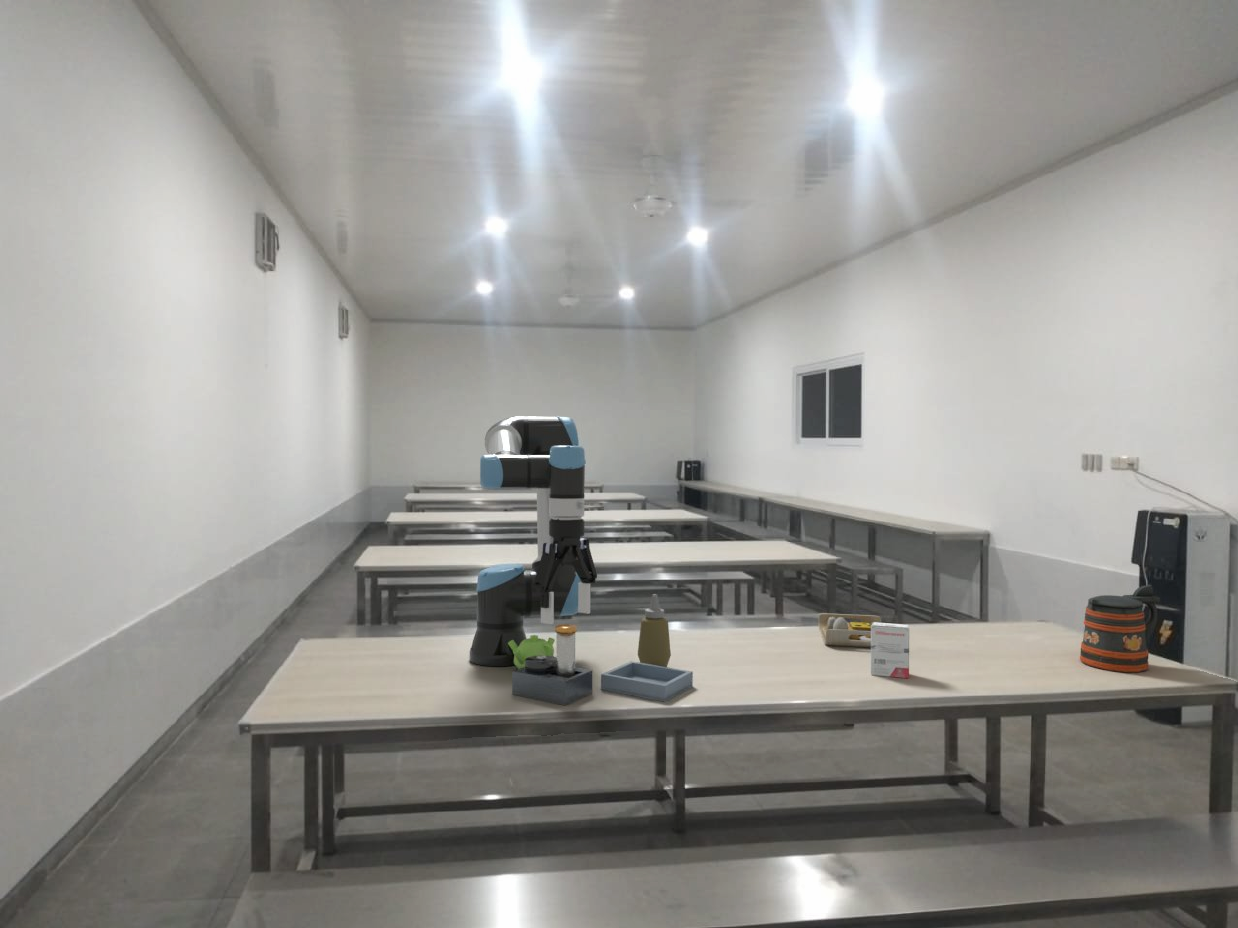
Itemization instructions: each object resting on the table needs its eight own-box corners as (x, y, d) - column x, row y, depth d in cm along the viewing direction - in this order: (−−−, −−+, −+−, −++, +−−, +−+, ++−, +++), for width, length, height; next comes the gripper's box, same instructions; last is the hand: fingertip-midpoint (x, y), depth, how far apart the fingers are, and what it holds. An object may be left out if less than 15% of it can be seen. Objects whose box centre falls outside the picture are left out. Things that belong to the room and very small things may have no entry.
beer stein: (1125, 655, 209) (1127, 579, 209) (1177, 670, 195) (1179, 588, 194) (1066, 659, 204) (1067, 581, 204) (1115, 674, 190) (1116, 591, 190)
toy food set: (895, 652, 211) (896, 623, 211) (825, 649, 214) (825, 620, 214) (881, 631, 236) (881, 605, 236) (818, 628, 239) (818, 603, 239)
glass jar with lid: (550, 697, 169) (550, 627, 169) (563, 691, 173) (563, 623, 173) (568, 701, 167) (568, 629, 166) (580, 695, 171) (581, 625, 170)
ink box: (908, 673, 190) (909, 623, 190) (909, 678, 185) (909, 627, 185) (870, 669, 193) (871, 620, 193) (870, 675, 188) (870, 624, 188)
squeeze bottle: (668, 674, 187) (669, 598, 187) (634, 672, 189) (635, 596, 188) (672, 665, 195) (673, 592, 194) (640, 663, 196) (641, 590, 196)
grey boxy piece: (512, 694, 171) (512, 658, 171) (540, 682, 180) (540, 648, 179) (565, 705, 164) (565, 667, 164) (592, 693, 172) (592, 657, 172)
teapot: (560, 676, 185) (561, 640, 185) (511, 679, 182) (511, 642, 182) (554, 663, 196) (554, 629, 196) (507, 666, 193) (507, 631, 193)
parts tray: (600, 689, 175) (601, 674, 175) (631, 675, 186) (631, 661, 186) (665, 701, 167) (665, 685, 167) (692, 686, 178) (692, 671, 178)
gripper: (545, 522, 157) (545, 630, 157) (612, 515, 178) (612, 610, 178) (515, 520, 160) (515, 626, 161) (585, 514, 182) (584, 607, 182)
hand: (566, 618), depth 169 cm, fingers open, 13 cm apart
